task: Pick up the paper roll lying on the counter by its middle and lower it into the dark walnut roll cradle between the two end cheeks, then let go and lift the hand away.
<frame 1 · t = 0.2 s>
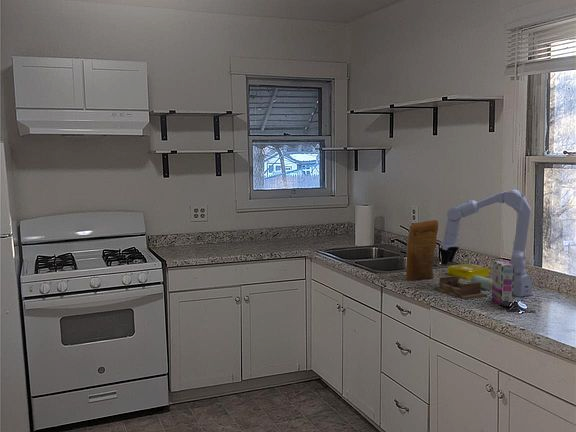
hand: (446, 263, 258), 11 cm above the worktop, tool pointing down, fingers open, 7 cm apart
candy bar box: (502, 303, 229), on the worktop
roll cradle: (459, 292, 247), on the worktop
element tile: (468, 276, 282), on the worktop
pancake mix bag: (421, 279, 274), on the worktop
paper roll: (482, 282, 255), point 2 cm above the worktop
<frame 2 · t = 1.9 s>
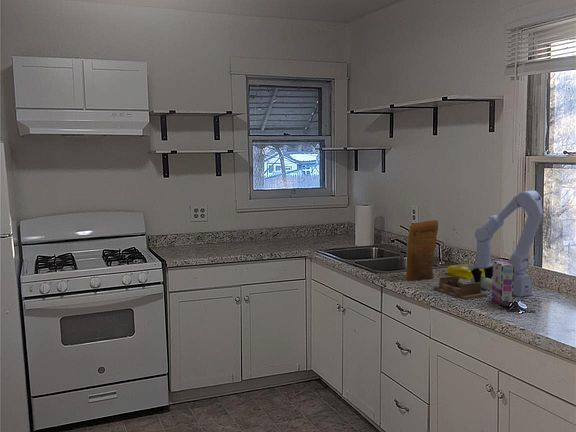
hand: (482, 284, 255), 1 cm above the worktop, tool pointing down, fingers closed on paper roll, 5 cm apart
paper roll: (482, 282, 255), point 2 cm above the worktop, touching gripper
everything else where it was.
when the fingers open (4 cm above the worktop, at t = 6.4 s): paper roll drops 1 cm, resting on roll cradle.
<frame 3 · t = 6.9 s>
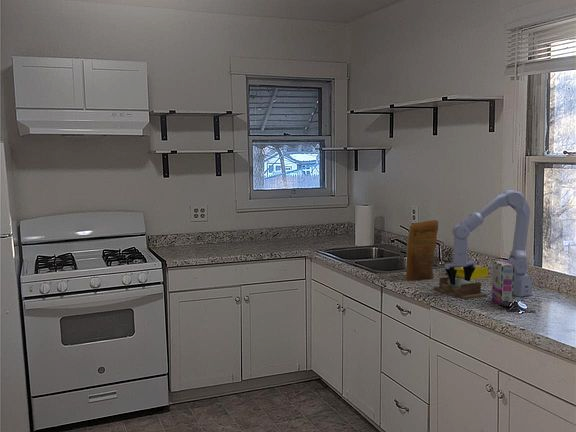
hand: (459, 283, 246), 4 cm above the worktop, tool pointing down, fingers open, 7 cm apart
paper roll: (459, 284, 246), point 3 cm above the worktop, touching roll cradle
everything else where it was.
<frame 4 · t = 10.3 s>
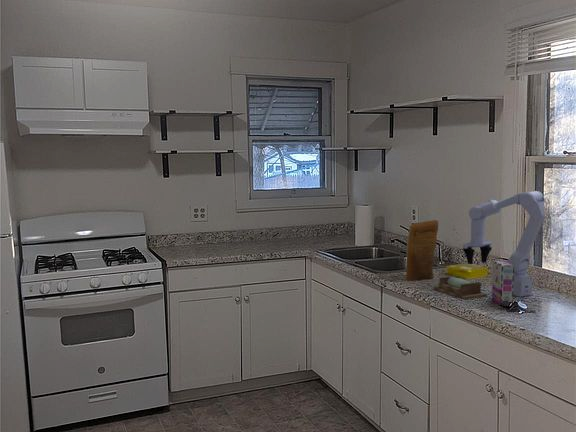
hand: (476, 263, 258), 10 cm above the worktop, tool pointing down, fingers open, 7 cm apart
nothing on the worktop moved.
at the end: paper roll 0.1 cm off-centre on the roll cradle, point 3.5 cm above the roll cradle's base; the gripper is holding nothing; paper roll touching roll cradle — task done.
